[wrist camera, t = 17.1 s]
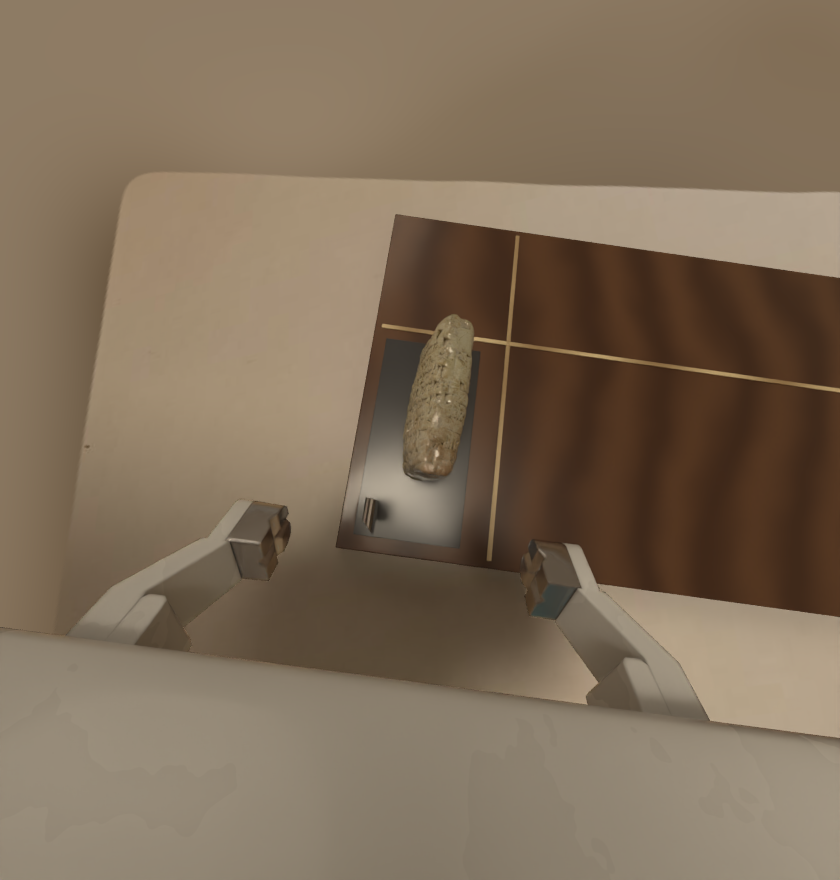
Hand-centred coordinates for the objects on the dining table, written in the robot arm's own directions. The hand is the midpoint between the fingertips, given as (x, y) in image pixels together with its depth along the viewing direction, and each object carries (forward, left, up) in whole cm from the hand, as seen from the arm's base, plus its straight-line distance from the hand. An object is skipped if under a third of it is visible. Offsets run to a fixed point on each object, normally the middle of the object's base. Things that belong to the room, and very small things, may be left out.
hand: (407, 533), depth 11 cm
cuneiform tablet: (0, +6, -11) cm, 12 cm away
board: (+17, +11, -12) cm, 23 cm away
